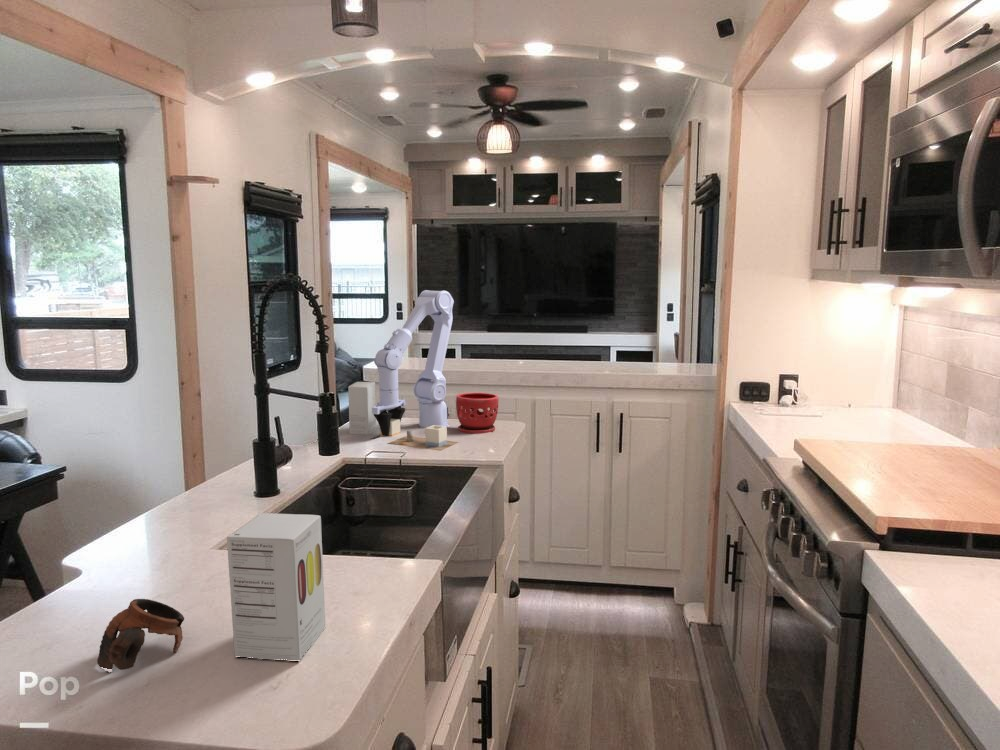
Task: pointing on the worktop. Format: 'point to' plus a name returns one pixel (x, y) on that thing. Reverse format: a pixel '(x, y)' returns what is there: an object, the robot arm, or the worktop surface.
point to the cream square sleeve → (393, 428)
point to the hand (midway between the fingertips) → (390, 433)
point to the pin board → (418, 442)
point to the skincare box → (361, 408)
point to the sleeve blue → (436, 435)
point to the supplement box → (276, 585)
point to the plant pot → (476, 412)
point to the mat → (375, 437)
